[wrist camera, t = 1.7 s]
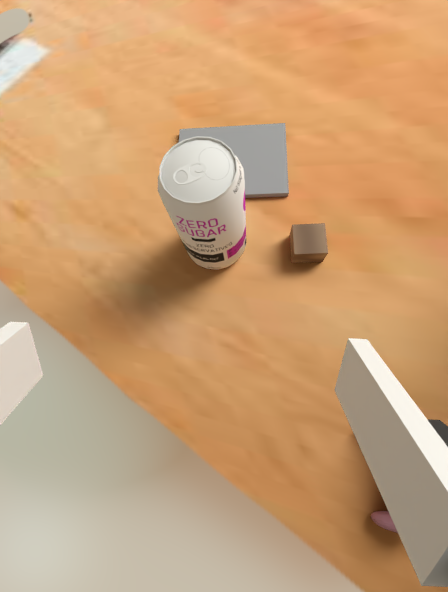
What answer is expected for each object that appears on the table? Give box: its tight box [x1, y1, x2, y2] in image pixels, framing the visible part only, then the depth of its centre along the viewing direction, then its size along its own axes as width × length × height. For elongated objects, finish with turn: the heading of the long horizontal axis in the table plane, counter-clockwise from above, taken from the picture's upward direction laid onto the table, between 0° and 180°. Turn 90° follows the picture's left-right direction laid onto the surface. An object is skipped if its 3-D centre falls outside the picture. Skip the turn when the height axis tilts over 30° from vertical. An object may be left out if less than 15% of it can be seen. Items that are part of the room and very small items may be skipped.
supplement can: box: [158, 136, 246, 270], centre depth 33 cm, size 8×8×15 cm
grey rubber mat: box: [179, 123, 289, 198], centre depth 43 cm, size 16×12×1 cm
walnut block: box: [290, 223, 328, 263], centre depth 38 cm, size 4×4×3 cm
